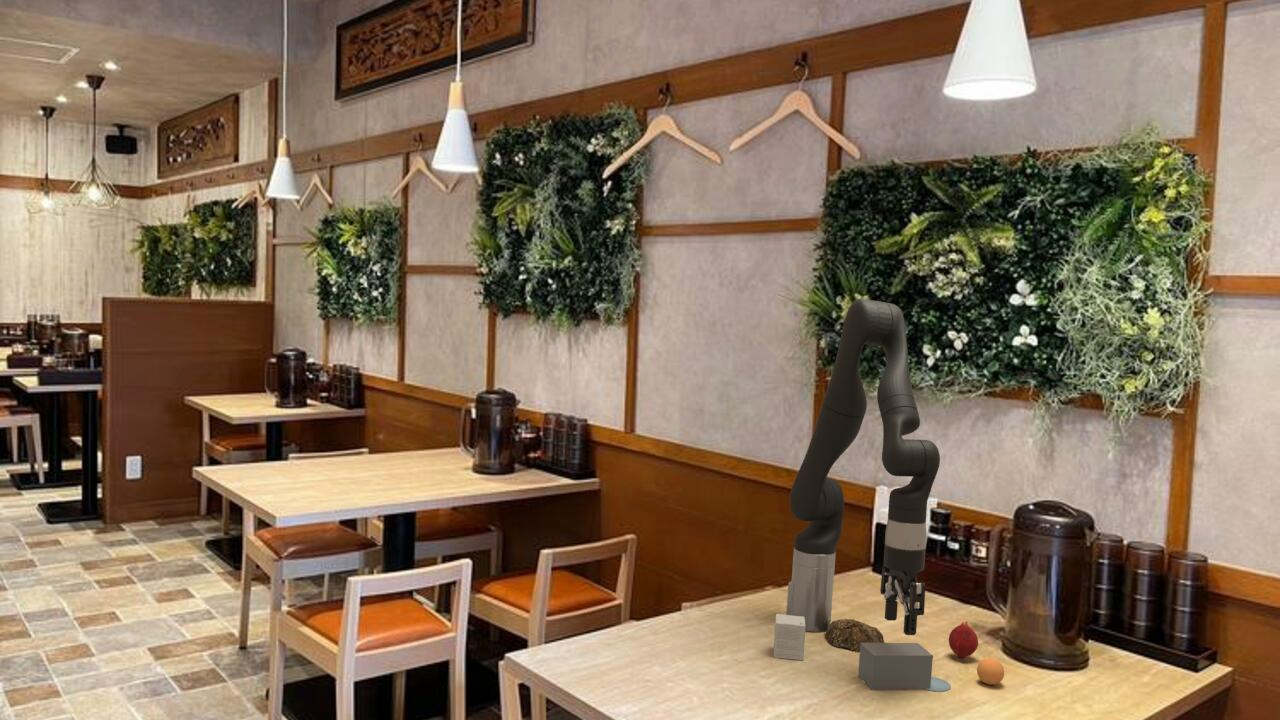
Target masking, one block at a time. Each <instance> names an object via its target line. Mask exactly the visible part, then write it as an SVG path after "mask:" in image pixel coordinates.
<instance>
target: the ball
mask: <svg viewBox="0 0 1280 720" xmlns="http://www.w3.org/2000/svg"><path fill="white" fill-rule="evenodd" d="M976 673H977V676H978V678H979V679H980V681H982V682H983V683H984V684H986V685H989V686H994V685H998V684H1000V683H1001V682H1002V681H1003V679H1004V677H1005V669H1004V666H1003V665H1002V663H1001V662H1000V661H999V660H997V659H996V658H993V657H986V658H983V659H981V660H980V661H979V662H978V664H977V668H976Z"/></svg>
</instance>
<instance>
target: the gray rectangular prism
mask: <svg viewBox="0 0 1280 720" xmlns="http://www.w3.org/2000/svg"><path fill="white" fill-rule="evenodd" d="M933 658H934V656H933V654H932V653H930V652H929V651H928V650H927V649H925V647H923V646H922V645H921V644H920V643H918V642H884V643H861V644H860V652H859V660H858V661H859V662H858V673H857V676H858V678H859V679H860V680H861V679H862V680H863V681H864V682H865V683H864V682H863V681H862V680H861V681H862V682H863V683H864V684H865V686H867V687H868V688H869V689H870V690H871V691H872V690H873V691H879V690H880V691H885V690H887V691H890V690H891V691H892V690H894V691H895V690H897V689H898V690H897V691H899V689H900V690H901V689H902V690H903V689H918V690H919V689H926V688H930V686H931V677H932V672H933V661H934V660H933Z"/></svg>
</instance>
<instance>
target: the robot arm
mask: <svg viewBox="0 0 1280 720" xmlns="http://www.w3.org/2000/svg"><path fill="white" fill-rule="evenodd" d="M842 325H843V327H842V331H841V336H840V339H839V344H838V349H837V354H836V358H835V363H834V367H833V369H832V373H831V376H830V379H829V383H828V386H827V390H826V392H825V395H824V397H823V400H822V404H821V406H820V410H819V412H818V416H817V420H816V423H815V427H814V430H813V433H812V436H811V439H810V442H809V445H808V448H807V451H806V454H805V455H804V459H803V461H802V464H801V465H800V467H799V469H798V472H797V474H796V477H795V479H794V481H793V483H792V486H791V489H790V493H789V508H790V512H791V513H792V516H794V517H795V519H797V520H799V521H802V522H803V521H804V522H809V524H807V526H806V527H805V528H804V529H802V530H801V531H799V532H798V533H796V535H795V536H794V541H793V557H792V570H791V571H792V573H791V580H790V581H789V582H788V588H787V597H786V613H785V615H792V616H802V617H805V632H814V633H815V632H817V633H818V632H826V629H827V628H828V626H829V625H830V624H831V623H832V622H831V621H832V609H833V608H832V606H833V593H834V582H835V581H834V580H835V579H834V578H835V568H836V567H835V565H836V553H837V545H838V543H839V541H840V538H841V533H842V528H843V527H842V526H843V518H844V509H845V496H844V490H843V488H842V486H841V484H840V482H838V481H837V480H836V479H834V478H832V477H828V476H829V475H828V474H829V473H830V471H831V469H832V468H833V466H834V464H835V463H836V462H837V461H838V459H839V458H840V457H841V456H842V455H843V454H844V453H845V451H847V449H848V448H849V447H850V446H851V445H852V444H853V442H854V441H855V439H856V438H857V436H858V434H859V432H860V430H861V427H862V425H863V421H864V418H865V416H866V412H867V407H868V402H867V396H866V391H865V389H864V385H863V381H862V377H861V374H860V362H861V361H860V360H861V355H862V352H863V349H864V346H865V345H867V346H874V347H875V346H877V347H881V348H882V350H883V352H884V354H885V358H886V364H885V369H884V372H883V373H882V376H881V377H880V378H881V379H880V381H879V383H878V386H877V395H876V397H877V398H876V399H877V405H878V409H879V413H880V417H881V420H882V427H883V428H882V429H883V430H882V431H883V434H882V436H883V437H882V450H881V451H882V452H881V453H882V454H881V462H882V466H883V467H884V469H885V470H886V472H887V473H888V474H889V475H891V476H893V477H912V479H911V480H910V482H909V483H908V484H906V485H904V486H900V487H896V488H894V489H891V491H890V493H889V497H888V512H887V522H886V527H885V536H884V552H883V564H882V566H881V567H882V570H881V578H880V594H881V595H883V598H884V599H883V600H885V606H884V607H885V608H884V619H885V620H886V621H888V622H889V621H891V622H892V621H896V620H897V618H898V604H899V603H900V604H901V605H902V607H903V610H904V611H903V612H904V618H903V634H904V635H905V636H916V634H917V627H918V626H917V624H918V616H924V615H925V608H926V607H925V606H926V605H925V603H926V602H925V601H926V583H925V582H918V579H917V578H918V577H917V574H918V573H920V572H922V571H924V569H925V561H926V548H927V547H926V545H927V523H926V522H927V512H928V501H929V497H930V494H931V492H932V487H933V486H934V485H933V484H934V483H935V480H936V477H937V474H938V472H939V469H940V468H939V467H940V463H941V455H940V451H939V448H938V447H937V444H935V443H934V442H933V441H931V440H930V439H929V440H927V439H911V438H910V439H908V438H907V439H906V438H905V439H904V438H903V436H907V435H909V434H912V433H914V432H916V431H917V430H918V429H919V427H920V426H921V419H920V418H921V417H920V414H919V411H918V406H917V403H916V398H915V396H914V392H913V391H914V390H913V387H912V382H911V376H910V367H909V365H910V364H909V353H908V352H909V351H908V341H907V340H908V339H907V329H906V328H907V327H906V322H905V317H904V313H903V312H902V310H901V308H900V307H899V306H897V305H896V304H894V303H890V302H884V301H877V300H872V299H866V298H865V299H863V298H859V299H856V300H854V301H853V302H851V305H850V306H849V308H848V310H847V312H846V315H845V318H844V322H843V324H842ZM898 600H899V602H898Z"/></svg>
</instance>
